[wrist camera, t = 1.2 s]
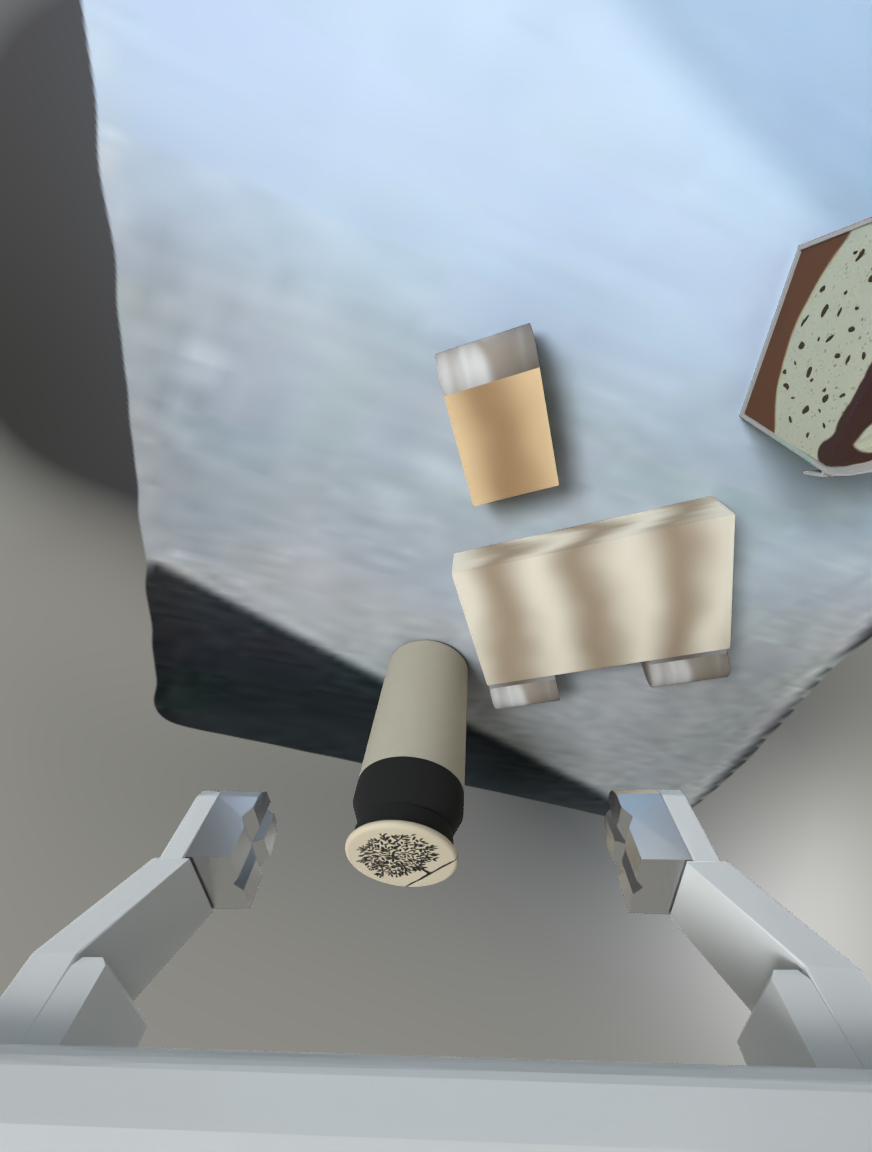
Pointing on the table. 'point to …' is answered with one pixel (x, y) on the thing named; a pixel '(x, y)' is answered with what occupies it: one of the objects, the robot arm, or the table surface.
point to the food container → (821, 357)
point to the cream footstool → (603, 600)
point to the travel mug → (413, 770)
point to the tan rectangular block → (499, 415)
